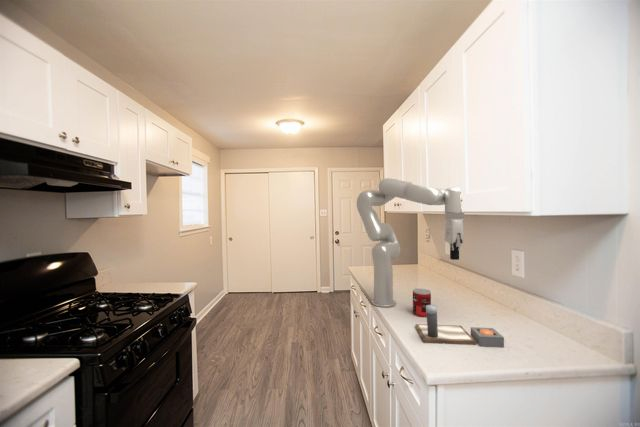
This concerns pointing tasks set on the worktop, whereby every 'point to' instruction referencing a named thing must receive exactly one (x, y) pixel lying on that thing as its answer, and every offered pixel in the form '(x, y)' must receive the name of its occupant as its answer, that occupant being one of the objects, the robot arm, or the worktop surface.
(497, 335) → the button housing
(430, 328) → the grey tall cylinder
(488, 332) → the button
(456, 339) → the board
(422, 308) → the canned food
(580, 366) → the worktop surface
